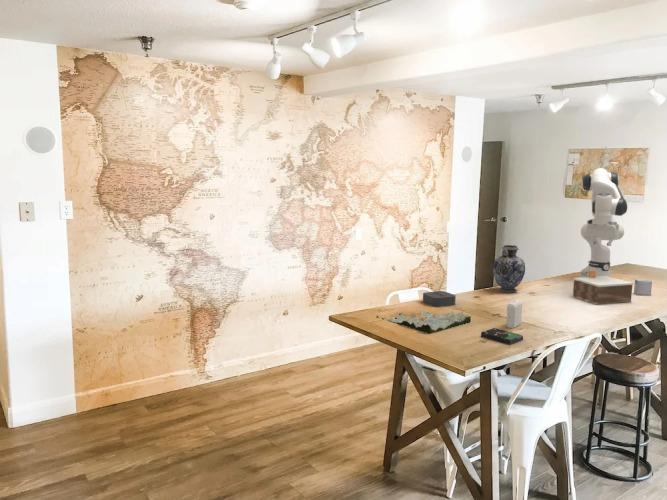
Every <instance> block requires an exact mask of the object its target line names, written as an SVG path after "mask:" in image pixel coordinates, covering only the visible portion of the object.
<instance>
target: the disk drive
mask: <svg viewBox="0 0 667 500" xmlns="http://www.w3.org/2000/svg"><path fill="white" fill-rule="evenodd" d="M480 337H481V338H484V339H488V340H491V341H495V342H498V343H502V344H505V345H509V346H511V345H514V344H516V343H519V342H522V341H524V336H523V335H522V334H519V333H515V332H512V331H508V330H503V329H500V328H496V327H493V328H491V329H486V331H485V330H483V331H481V332H480Z"/></svg>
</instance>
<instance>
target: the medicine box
mask: <svg viewBox="0 0 667 500" xmlns="http://www.w3.org/2000/svg"><path fill="white" fill-rule="evenodd" d="M652 286H653V281H652V280H649V279H635V280H634V284H633V287H634V289H633V294H634V295H635V296H651V295H652Z"/></svg>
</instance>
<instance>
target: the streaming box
mask: <svg viewBox="0 0 667 500" xmlns="http://www.w3.org/2000/svg"><path fill="white" fill-rule="evenodd" d="M422 303H424V304H426V305H429V306H431V307H437V308H438V307H439V308H440V307H449V306H454V305H456V294H452V293H450V292H447V291H443V290H438V291H427V292H422Z"/></svg>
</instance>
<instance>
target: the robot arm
mask: <svg viewBox="0 0 667 500" xmlns="http://www.w3.org/2000/svg"><path fill="white" fill-rule="evenodd" d="M619 183H620V176H619V173H617V172H613V171H610V172H609V171H608V170H607V169H605V168H602V167H598V168H596V169H594V170H593V171H592V172H591V174H585V175H584V176H583V177H582V179H581V181H580V185H581V187H582V189H583V190H584V191H587V192H588V191H592V193H591V215H592V217H594V218H591V219H588V220H586V224H583V225H582V226H581V229H580V235H581V237H582V239H584V240H585V241H586V242H587V243H588V244H589V247H590V260H588V261H587V263H588V265H587V266H585V267H584V268H583V269H581V271H580V272H579V273H580V274H579V276H576V277H575V278H582V277H589V271H592V270H594V271H596V277H599V276H608V277H611V269H610V268H611V249H610V248H609V247H611V246H612V243H613V241H617V240H621V239H622V238H623V237H624V234H625V229H624V227H623V226H622V225H621V224H620V223H618V222H617V221H616V220H615V218H614V216H619V217H620V216H621V217H622V216H623V215H625V214H626V213H627V211H628V202H627V201H626V199H625V198H624V196H623V194H622V191H621V190H620V187H619ZM602 241H608V242H607V243H606V245H604V244H602Z"/></svg>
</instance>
